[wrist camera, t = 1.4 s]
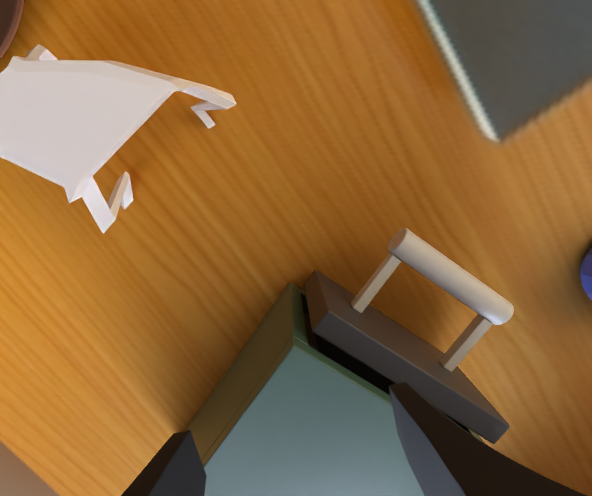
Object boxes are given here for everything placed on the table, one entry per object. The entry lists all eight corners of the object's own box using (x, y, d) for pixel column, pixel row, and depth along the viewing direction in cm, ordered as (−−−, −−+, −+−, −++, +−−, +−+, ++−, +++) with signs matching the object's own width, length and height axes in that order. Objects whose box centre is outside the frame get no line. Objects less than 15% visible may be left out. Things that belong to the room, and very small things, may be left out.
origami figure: (81, 248, 20) (17, 272, 15) (-8, 111, 18) (-112, 90, 13) (263, 156, 19) (257, 151, 14) (189, 4, 17) (153, -60, 13)
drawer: (363, 202, 19) (398, 215, 13) (498, 298, 21) (583, 349, 15) (203, 423, 22) (174, 515, 16) (334, 493, 24) (350, 600, 18)
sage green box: (289, 281, 21) (293, 344, 13) (433, 373, 23) (509, 475, 15) (177, 439, 23) (125, 571, 16) (316, 512, 25) (330, 661, 17)
